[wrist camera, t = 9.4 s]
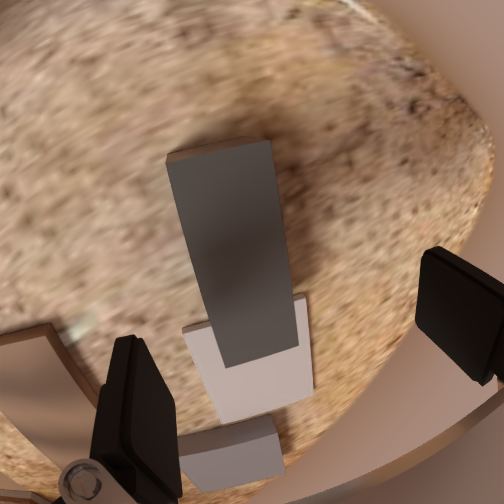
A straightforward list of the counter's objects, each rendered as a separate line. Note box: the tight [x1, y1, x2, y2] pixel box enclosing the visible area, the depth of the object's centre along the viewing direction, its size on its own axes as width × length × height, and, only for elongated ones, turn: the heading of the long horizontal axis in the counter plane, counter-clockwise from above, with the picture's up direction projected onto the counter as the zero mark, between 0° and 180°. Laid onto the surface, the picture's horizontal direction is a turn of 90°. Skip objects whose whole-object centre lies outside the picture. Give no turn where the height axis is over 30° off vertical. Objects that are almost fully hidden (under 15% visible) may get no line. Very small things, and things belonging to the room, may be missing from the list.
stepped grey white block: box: [166, 137, 314, 424], centre depth 15 cm, size 18×7×4 cm, turn 10°
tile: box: [177, 414, 286, 493], centre depth 22 cm, size 8×2×8 cm
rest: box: [0, 323, 99, 470], centre depth 17 cm, size 18×8×1 cm, turn 10°
